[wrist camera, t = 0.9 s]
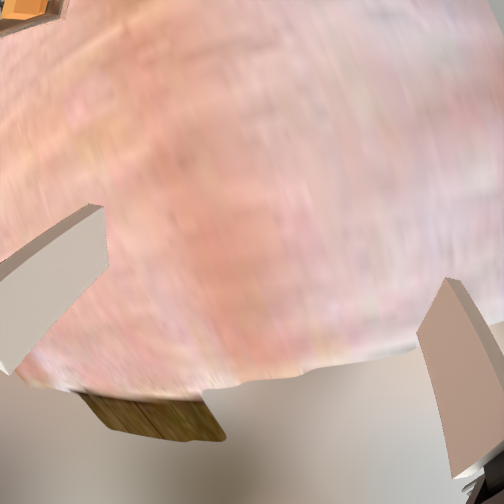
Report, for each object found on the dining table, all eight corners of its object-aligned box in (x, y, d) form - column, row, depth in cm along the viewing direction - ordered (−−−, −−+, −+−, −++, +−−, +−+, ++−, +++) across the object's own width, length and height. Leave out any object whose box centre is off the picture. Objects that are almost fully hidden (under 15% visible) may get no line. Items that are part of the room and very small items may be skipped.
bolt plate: (4, -4, 24) (-7, -5, 21) (80, -35, 23) (67, -40, 20) (-7, 42, 29) (-19, 43, 26) (64, 20, 28) (50, 17, 25)
